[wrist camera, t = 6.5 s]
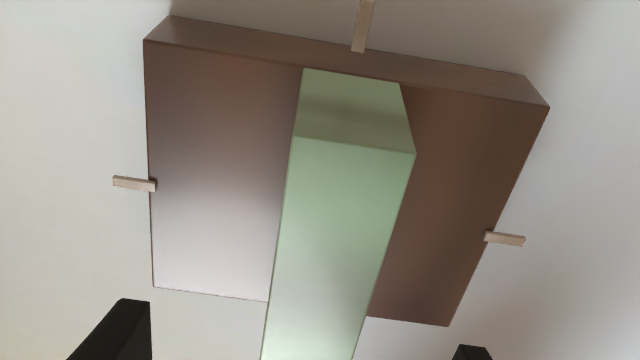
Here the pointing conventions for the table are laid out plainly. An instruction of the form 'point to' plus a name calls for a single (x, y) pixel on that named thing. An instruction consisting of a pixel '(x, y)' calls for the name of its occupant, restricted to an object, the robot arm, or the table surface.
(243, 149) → the brown piece
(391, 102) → the mint green brick
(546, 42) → the table surface
